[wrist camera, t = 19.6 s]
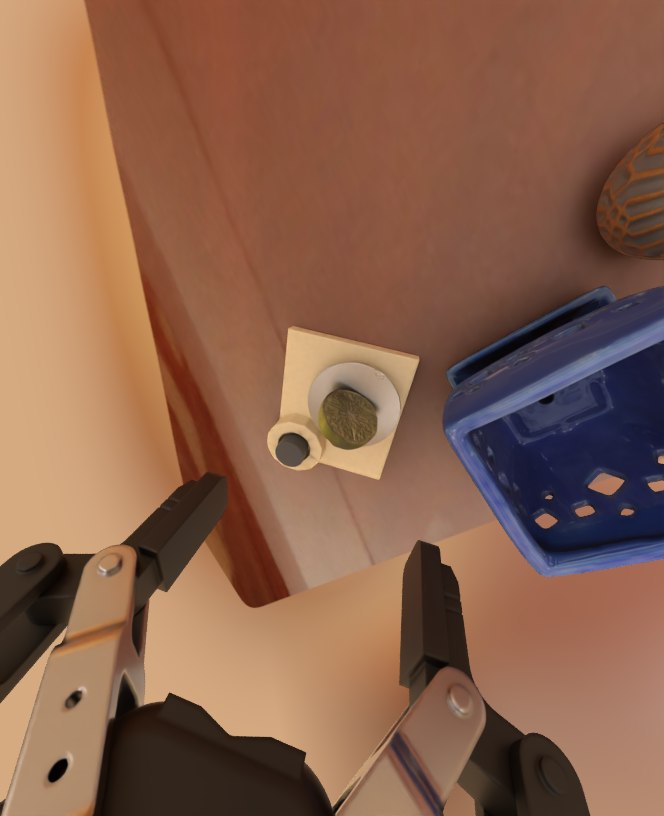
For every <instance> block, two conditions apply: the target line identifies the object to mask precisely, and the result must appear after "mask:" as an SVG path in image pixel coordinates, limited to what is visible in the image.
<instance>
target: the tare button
mask: <svg viewBox="0 0 664 816" xmlns="http://www.w3.org/2000/svg"><path fill="white" fill-rule="evenodd" d="M308 449H309V448H308V443H307V441H306V440H305V439H304V438H303V437H302V436H300V435H298V434H295V433H290V434H287V435H285V436H284V437H283V438H282V440H281V441H280V442H279V444H278V445H277V447H276V449H275V454H276V457H277V459H278V460H279V461H280V462H281V463H282V464H284V465H286V466H289V467H296V466H299V465H300V464H301V463H302V462H303V460H304V458H305V456H306V454H307V452H308Z"/></svg>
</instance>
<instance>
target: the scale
mask: <svg viewBox="0 0 664 816" xmlns="http://www.w3.org/2000/svg"><path fill="white" fill-rule="evenodd" d="M347 361H355V362H362V363H366V364H369V365H371V366H373V367H376V368H377V369H379V370H380V371H382V372H383V373H384V374H386V375H387V376H388V377H389V378H390V380H391V381H392V382H393V384H394V385H395V387H396V389H397V391H398V394H399V397H400V401H401V412H400V417H401V414H402V411H403V408H404V405H405V402H406V399H407V396H408V393H409V390H410V387H411V384H412V381H413V378H414V375H415V372H416V369H417V366H418V363H419V356H416V355H412V354H408V353H404V352H400V351H396V350H391V349H387V348H383V347H379V346H375V345H370V344H366V343H362V342H358V341H354V340H350V339H345V338H341V337H337V336H333V335H329V334H324V333H320V332H316V331H312V330H308V329H304V328H299V327H295V326H292V327H290V328H289V329H288V338H287V348H286V359H285V369H284V379H283V390H282V400H281V411H280V420H279V421H278V422H277V423H276V424H275V425H274V427H273V428H272V429H271V430H270V431H269V433H268V441H267V446H268V448H269V450H270V452H271V454H272V456H273V458H275V459H276V460H277V461H278V462H279V463H281V462H280V461H279V460H278V459H277V457H276V454H275V449H276V447H277V445H278V444H279V442H280V441H281V440H282V438H283V437H284V436H285V435H287V434H290V433H295V434H298V435H300V436H302V437H303V438H304V439H305V440H306V441H307V443H308V448H309V449H308V452H307V454H306V456H305V458H304V460H303V462H302V463H301V464H300V465H299V466H296V467H289V466H286V465H284V464H282V463H281V464H282V465H283V466H285V467H288V468H291V469H294V470H298V471H299V470H306V469H311V468H312V467H313V466H315V465H316V464H317V463H318V462H320V463H324V464H327V465H330V466H334V467H337V468H340V469H344V470H347V471H350V472H354V473H357V474H360V475H364V476H367V477H370V478H374V479H377V480H379V479H380V476H381V473H382V470H383V467H384V464H385V461H386V458H387V455H388V452H389V449H390V447H391V444H392V441H393V438H394V435H395V432H396V429H397V426H398V423H399V421H398V423H397V426H396V427H395V429H394V430H393V432H392V433H391V434H390V435H389V436H388V437H387V438H385V439H384V440H382V441H381V442H379V443H377V444H374V445H370V446H366V447H360V448H357V449H354V450H344V449H341V448H338V447H335V446H333V445H332V444H331V443H330V441H329V440H327V439H326V438H325V437H324V436H323V435H322V433H321V431H320V430H319V429H318V428H317V427H316V425H315V424H314V422H313V420H312V418H311V416H310V413H309V409H308V394H309V390H310V387H311V385H312V383H313V381H314V380H315V378H316V377H317V376H318V375H319V374H320V373H321V372H322V371H323V370H325V369H326V368H327V367H329V366H331V365H334V364H337V363H340V362H347ZM399 420H400V418H399Z"/></svg>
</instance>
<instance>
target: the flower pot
mask: <svg viewBox="0 0 664 816" xmlns="http://www.w3.org/2000/svg"><path fill="white" fill-rule="evenodd" d="M446 376H447V379H448V381H449V383H450V384H451V386H452V388H453V390H452V391H451V393H450V394H449V396H448V398H447V400H446V403H445V407H444V412H443V430H444V433H445V435H446V437H447V439H448V441H449V443H450V445H451V447H452V448H453V450H454V452H455V453H456V455H457V456H458V458H459V460H460V461H461V463H462V464H463V466H464V467H465V469H466V470H467V472H468V474H469V475H470V477H471V478H472V480H473V481H474V483H475V484H476V486H477V488H478V489H479V491H480V492H481V494H482V496H483V497H484V499H485V500H486V502H487V503H488V505H489V507H490V508H491V510H492V511H493V513H494V515H495V516H496V518H497V520H498V521H499V523H500V524H501V526H502V527H503V529H504V530H505V532H506V533H507V535H508V536H509V537H510V539H511V540H512V542H513V543H514V545H515V546H516V547H517V549H518V550H519V551H520V553H521V554H522V555H523V557H524V558H525V559H526V560H527V562H528V563H529V564H530V565H531V566H532V567H533V568H534V569H535V570H536V571H537V572H538V573H539V574H541V575H543V576H547V577H553V576H562V575H571V574H578V573H585V572H591V571H597V570H604V569H610V568H615V567H621V566H626V565H632V564H639V563H645V562H650V561H655V560H660V559H664V490H663V491H658V492H654V491H653V490H652V489H651V488H650V487H649V486H648V483H650V482H656V481H661V480H663V481H664V464H660V463H658V457H659V456H664V286H661V287H657V288H653V289H649V290H646V291H642V292H639V293H636V294H633V295H630V296H628V297H625V298H622V299H620V300H616V298H615V296H614V295H613V293H612V291H611V290H610V289H609V288H608V287H605V286H602V287H599V288H596V289H594V290H592V291H590V292H588V293H586V294H584V295H582V296H580V297H578V298H576V299H574V300H572V301H571V302H569V303H567V304H565V305H563V306H561V307H559V308H557V309H556V310H554V311H552V312H550V313H548V314H546V315H545V316H543V317H541V318H539V319H537V320H535V321H533V322H532V323H530V324H528V325H526V326H524V327H522V328H520V329H519V330H517V331H515V332H513V333H511V334H509V335H508V336H506V337H504V338H502V339H500V340H499V341H497V342H495V343H493V344H491V345H489V346H487V347H486V348H484V349H482V350H480V351H478V352H477V353H475V354H473V355H471V356H469V357H468V358H466V359H464V360H462V361H461V362H459V363H457V364H455V365H454V366H452V367H451V368H449V369H448V370H447V371H446ZM600 473H606V474H609V475H612V476H615V477H618V478H620V479H623V480H625V481H624V483H623V484H622V485H621V487H620V488H619V489H618V490H617V491H616V492H615V493H614V494H612V495H605V494H602V493H599V492H597V491H594V490H592V489H590V488H588V485H589V484H590V483H591V482H592V481H593V480H594V479H595V478H596V477H597V476H598V475H599V474H600ZM547 495H551V496H553V498H552V499H545V497H546V496H547ZM584 506H591V507H593V509H594V510H595V513H593V514H591V515H588V516H584V517H579V516H578V515H577V514H576V513H575V510H576V509H577V508H580V507H584ZM623 509H631V510H634V513H633V514H631V515H628V516H625V515H621V512H622V510H623ZM545 513H547V514H549V515H551V516H553V517H554V518H555V519H557V520H558V522H557V523H555V524H554V525H553V526H551V527H550V528H547V529H544V528H542V527H540V526H539V525H538V524H537V523H536V522H535V519H537V518H538V517H539V516H541V515H542V514H545Z"/></svg>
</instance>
